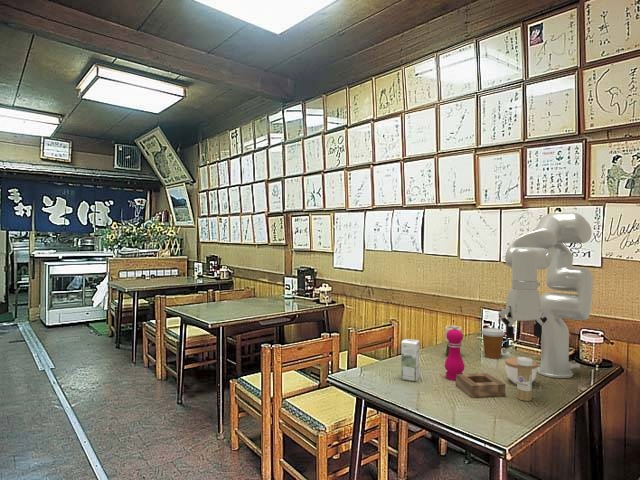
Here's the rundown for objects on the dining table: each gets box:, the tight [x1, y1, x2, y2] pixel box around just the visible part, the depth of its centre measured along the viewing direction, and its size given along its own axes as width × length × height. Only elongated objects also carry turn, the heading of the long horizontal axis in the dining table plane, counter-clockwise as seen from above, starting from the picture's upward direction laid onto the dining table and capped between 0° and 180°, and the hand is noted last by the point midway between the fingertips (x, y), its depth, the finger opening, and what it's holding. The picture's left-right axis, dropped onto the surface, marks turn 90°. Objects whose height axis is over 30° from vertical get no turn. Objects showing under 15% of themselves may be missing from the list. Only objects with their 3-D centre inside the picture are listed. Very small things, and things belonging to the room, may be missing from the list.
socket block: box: [455, 372, 506, 399], centre depth 153 cm, size 12×12×4 cm
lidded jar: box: [504, 357, 538, 385], centre depth 161 cm, size 11×11×9 cm
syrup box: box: [400, 338, 420, 382], centre depth 165 cm, size 6×6×14 cm
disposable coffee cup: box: [481, 327, 505, 360], centre depth 195 cm, size 10×10×12 cm
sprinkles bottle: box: [516, 356, 533, 402], centre depth 145 cm, size 5×5×14 cm
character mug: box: [444, 325, 463, 356], centre depth 196 cm, size 11×7×13 cm, turn 140°
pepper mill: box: [444, 324, 465, 381], centre depth 166 cm, size 7×7×20 cm
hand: (523, 337), depth 145 cm, fingers open, 9 cm apart
